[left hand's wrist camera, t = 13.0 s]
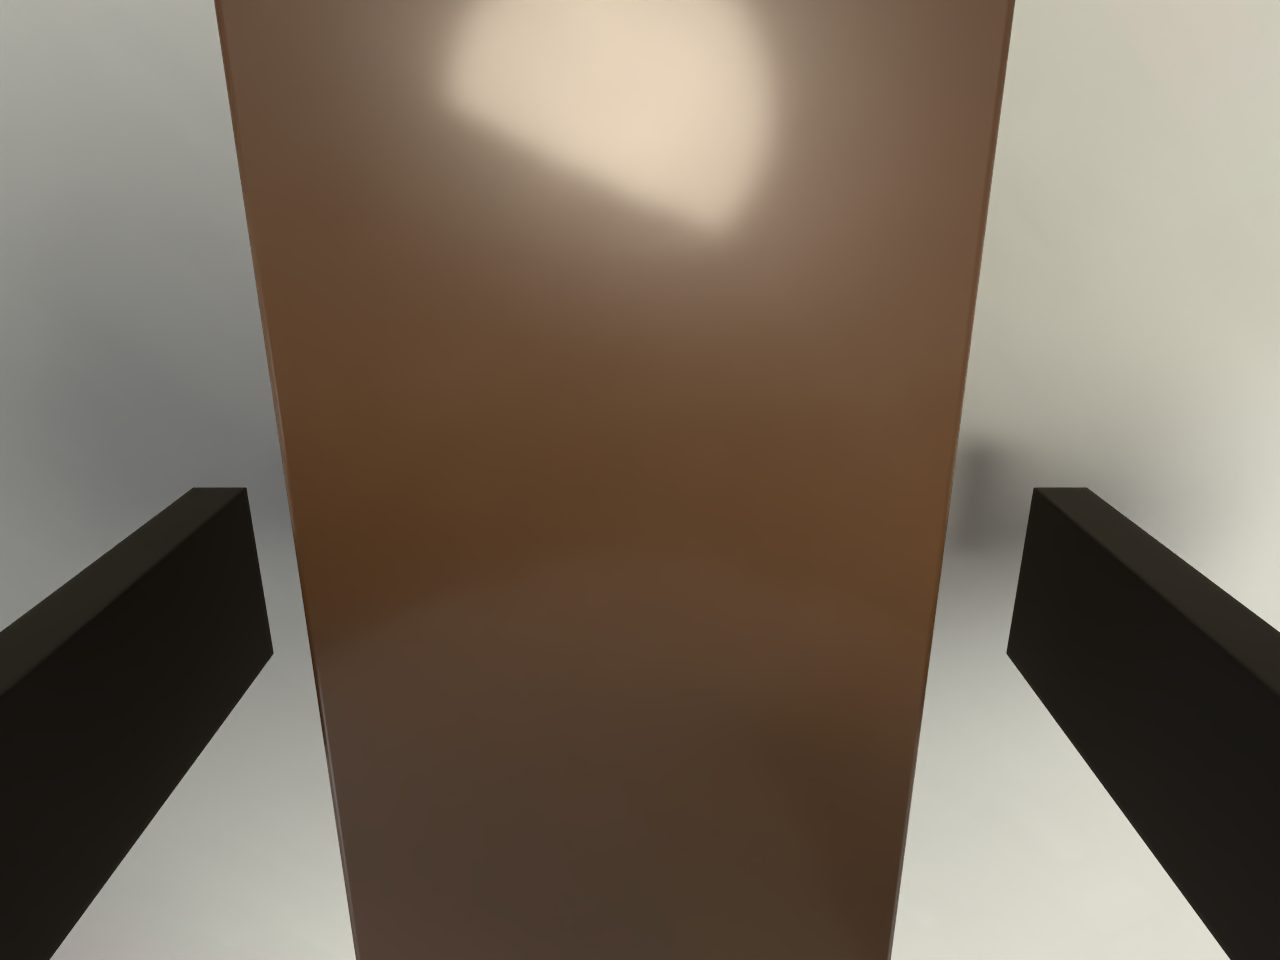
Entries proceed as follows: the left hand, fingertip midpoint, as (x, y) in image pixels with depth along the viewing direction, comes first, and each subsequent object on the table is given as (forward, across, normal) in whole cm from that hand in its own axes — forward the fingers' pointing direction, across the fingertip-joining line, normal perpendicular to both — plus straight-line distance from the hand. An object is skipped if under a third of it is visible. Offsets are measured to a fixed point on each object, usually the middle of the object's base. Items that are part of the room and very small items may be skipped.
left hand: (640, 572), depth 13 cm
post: (+3, 0, -27) cm, 27 cm away
